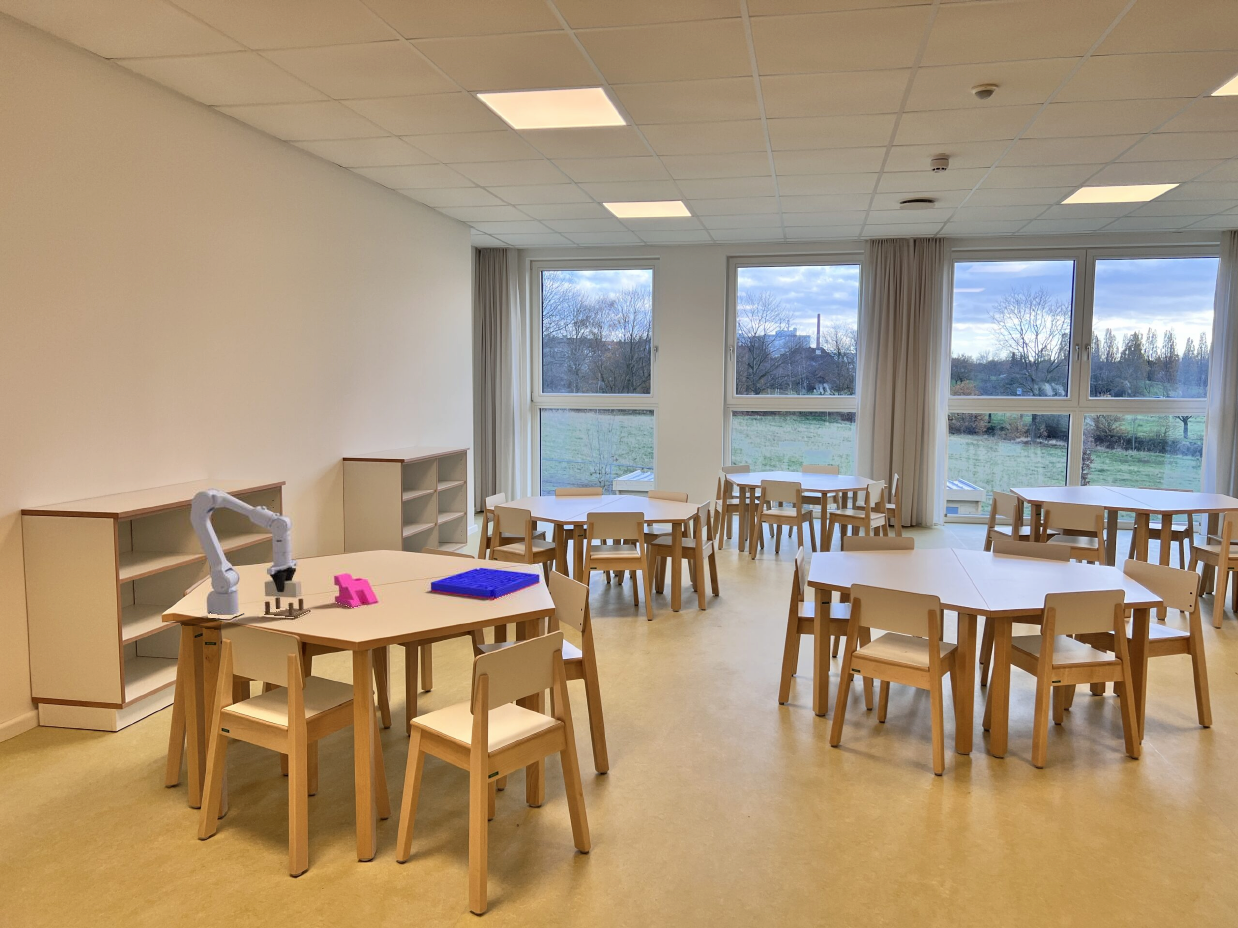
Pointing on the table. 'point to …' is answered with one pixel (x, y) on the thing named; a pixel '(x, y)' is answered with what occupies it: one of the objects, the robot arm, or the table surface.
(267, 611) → the rack
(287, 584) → the beige rectangular block
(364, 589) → the bracket
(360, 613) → the table surface
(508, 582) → the maze
